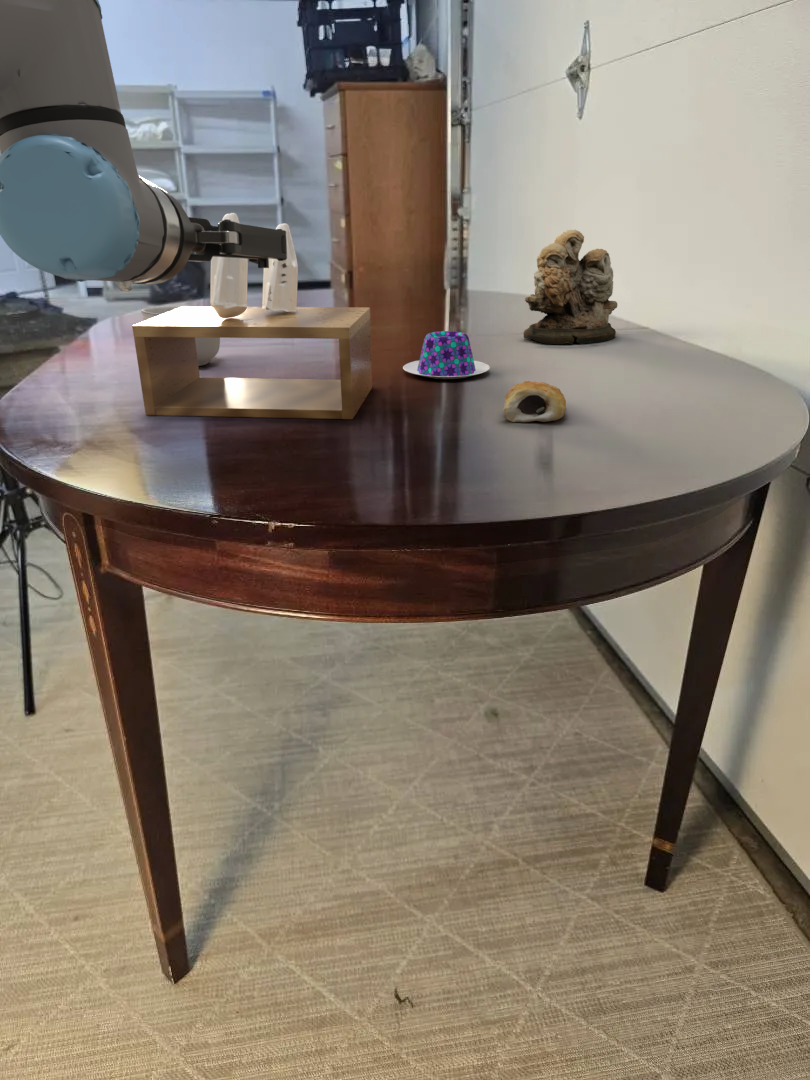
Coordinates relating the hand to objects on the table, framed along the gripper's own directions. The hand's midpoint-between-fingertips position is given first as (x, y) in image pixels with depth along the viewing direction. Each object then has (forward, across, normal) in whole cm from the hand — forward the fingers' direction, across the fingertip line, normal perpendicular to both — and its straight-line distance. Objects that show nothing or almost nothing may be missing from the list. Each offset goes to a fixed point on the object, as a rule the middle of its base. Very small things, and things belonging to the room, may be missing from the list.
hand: (194, 249), depth 78 cm
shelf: (+11, +5, -16) cm, 21 cm away
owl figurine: (+50, +51, -11) cm, 72 cm away
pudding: (+25, +28, -14) cm, 40 cm away
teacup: (+32, -9, -14) cm, 36 cm away
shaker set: (+10, +4, -7) cm, 13 cm away
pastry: (+3, +36, -17) cm, 40 cm away
